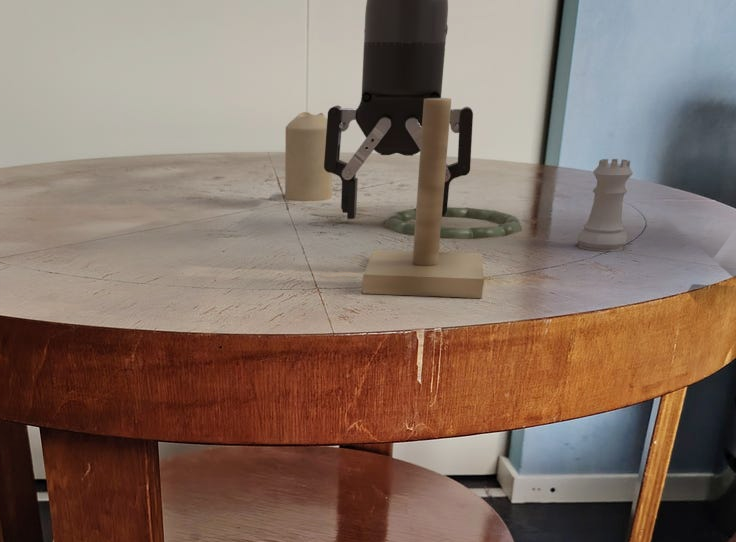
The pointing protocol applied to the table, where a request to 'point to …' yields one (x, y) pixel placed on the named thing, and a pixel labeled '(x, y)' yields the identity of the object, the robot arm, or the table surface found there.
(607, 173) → the rook chess piece
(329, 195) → the candle
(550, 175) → the table surface
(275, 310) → the table surface
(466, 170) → the robot arm
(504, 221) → the hoop
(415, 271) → the post
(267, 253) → the table surface
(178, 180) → the table surface
